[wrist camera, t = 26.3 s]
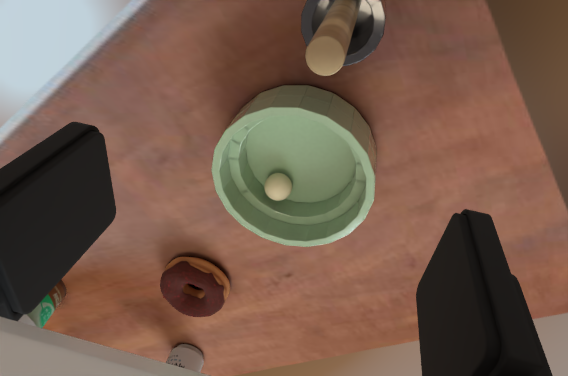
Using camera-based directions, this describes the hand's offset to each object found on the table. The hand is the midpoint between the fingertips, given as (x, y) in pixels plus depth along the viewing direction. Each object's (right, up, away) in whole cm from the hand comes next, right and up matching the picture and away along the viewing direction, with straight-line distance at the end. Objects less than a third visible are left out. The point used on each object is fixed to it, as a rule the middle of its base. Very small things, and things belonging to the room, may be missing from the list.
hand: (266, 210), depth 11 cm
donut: (-12, -12, +47) cm, 50 cm away
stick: (+6, +16, +22) cm, 28 cm away
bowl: (+2, +4, +32) cm, 32 cm away
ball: (0, +1, +32) cm, 32 cm away
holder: (+6, +16, +23) cm, 28 cm away
